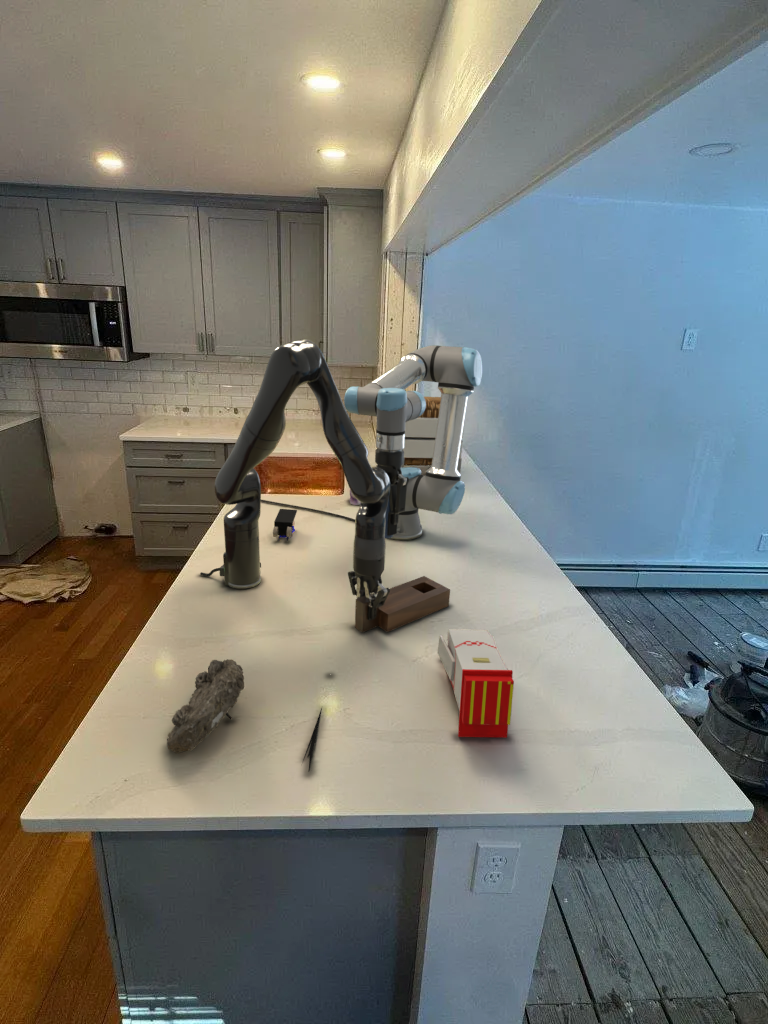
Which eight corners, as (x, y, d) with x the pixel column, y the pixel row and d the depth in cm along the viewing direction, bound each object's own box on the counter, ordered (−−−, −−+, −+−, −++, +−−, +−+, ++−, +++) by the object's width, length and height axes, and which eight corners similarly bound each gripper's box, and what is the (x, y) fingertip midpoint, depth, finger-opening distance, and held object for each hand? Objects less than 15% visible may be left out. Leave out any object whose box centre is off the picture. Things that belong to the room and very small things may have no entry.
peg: (375, 534, 157) (377, 493, 153) (386, 531, 159) (388, 491, 155) (385, 539, 154) (387, 497, 150) (396, 536, 156) (398, 494, 152)
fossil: (192, 660, 117) (244, 628, 112) (224, 691, 120) (276, 661, 115) (142, 746, 98) (202, 712, 93) (182, 779, 101) (242, 748, 96)
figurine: (353, 507, 224) (354, 470, 219) (343, 499, 232) (343, 463, 227) (374, 504, 228) (376, 468, 223) (364, 496, 237) (365, 462, 231)
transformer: (382, 463, 289) (386, 382, 275) (445, 464, 293) (451, 384, 279) (390, 482, 257) (394, 392, 243) (460, 483, 261) (468, 394, 247)
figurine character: (292, 547, 188) (298, 526, 201) (292, 527, 184) (297, 507, 198) (272, 547, 187) (279, 526, 201) (271, 526, 184) (278, 506, 197)
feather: (331, 679, 122) (336, 673, 122) (307, 777, 96) (313, 769, 95) (324, 675, 122) (329, 669, 121) (298, 772, 95) (304, 764, 95)
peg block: (346, 621, 143) (346, 593, 140) (422, 591, 160) (424, 566, 157) (371, 639, 136) (372, 609, 133) (448, 606, 153) (451, 579, 150)
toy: (488, 613, 130) (523, 677, 101) (484, 667, 133) (517, 744, 104) (435, 612, 130) (455, 676, 101) (432, 666, 133) (451, 743, 103)
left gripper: (338, 546, 137) (337, 609, 142) (376, 566, 127) (373, 633, 133) (363, 539, 141) (361, 600, 147) (400, 558, 131) (397, 623, 137)
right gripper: (358, 444, 152) (356, 525, 160) (401, 458, 140) (396, 545, 148) (379, 440, 156) (376, 519, 165) (422, 454, 144) (417, 538, 153)
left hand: (366, 615), depth 140 cm, fingers closed on peg block, 3 cm apart
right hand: (386, 531), depth 156 cm, fingers closed on peg, 4 cm apart
